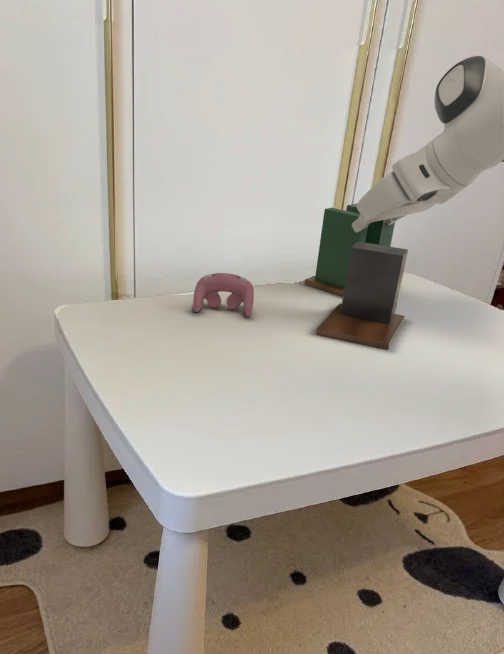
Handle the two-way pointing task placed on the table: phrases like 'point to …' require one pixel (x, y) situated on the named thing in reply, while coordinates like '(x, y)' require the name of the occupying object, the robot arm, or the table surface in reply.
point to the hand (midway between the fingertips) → (371, 225)
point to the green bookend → (375, 235)
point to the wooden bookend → (369, 297)
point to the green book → (337, 245)
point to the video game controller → (226, 283)
